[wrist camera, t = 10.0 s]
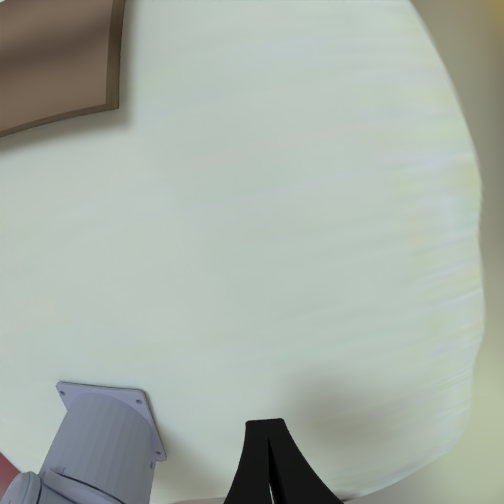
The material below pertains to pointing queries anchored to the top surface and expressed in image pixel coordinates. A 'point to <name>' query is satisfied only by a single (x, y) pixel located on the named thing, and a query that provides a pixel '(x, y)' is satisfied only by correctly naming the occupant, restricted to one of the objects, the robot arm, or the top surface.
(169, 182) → the top surface
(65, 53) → the plank
